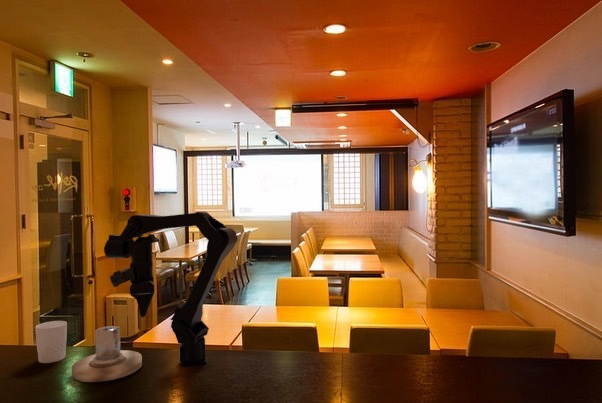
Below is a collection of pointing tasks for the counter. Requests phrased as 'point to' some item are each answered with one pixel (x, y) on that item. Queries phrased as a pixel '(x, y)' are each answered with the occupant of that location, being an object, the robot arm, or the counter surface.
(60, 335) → the white cup
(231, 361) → the counter surface
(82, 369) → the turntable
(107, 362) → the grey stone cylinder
